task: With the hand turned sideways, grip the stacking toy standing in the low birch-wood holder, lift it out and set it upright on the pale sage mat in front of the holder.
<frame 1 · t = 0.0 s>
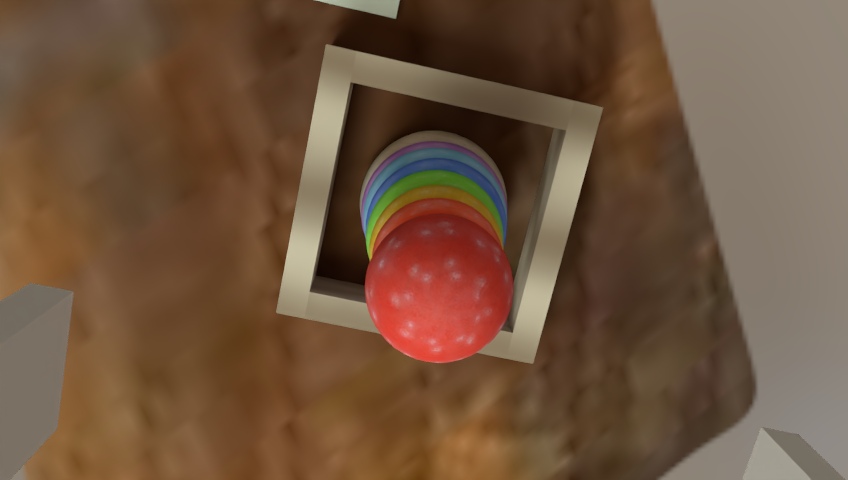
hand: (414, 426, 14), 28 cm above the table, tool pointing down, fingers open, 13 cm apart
stacking toy: (432, 200, 42), resting in birch holder
birch holder: (432, 201, 42), on the table
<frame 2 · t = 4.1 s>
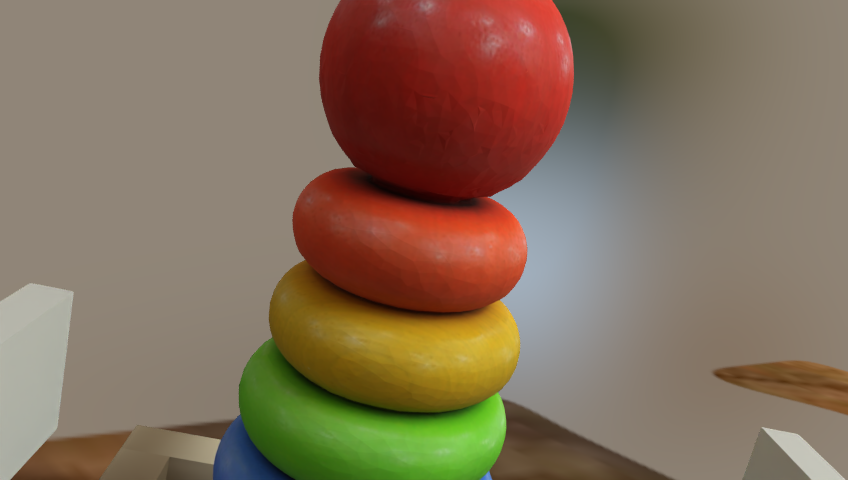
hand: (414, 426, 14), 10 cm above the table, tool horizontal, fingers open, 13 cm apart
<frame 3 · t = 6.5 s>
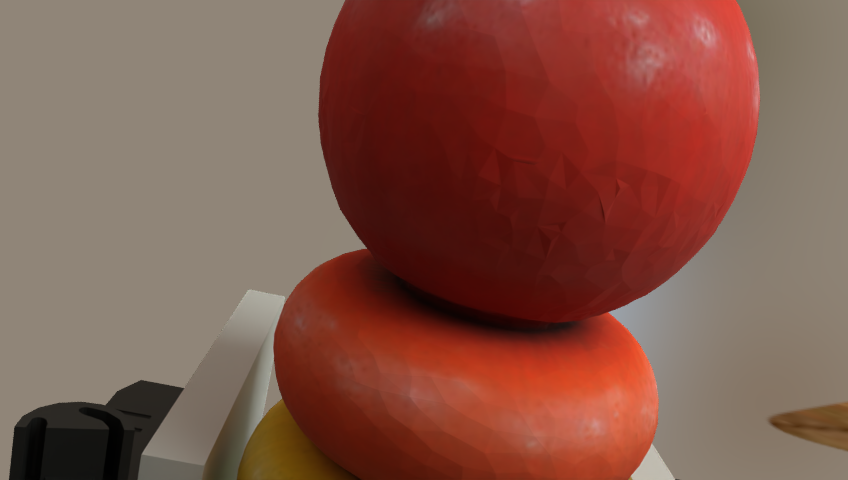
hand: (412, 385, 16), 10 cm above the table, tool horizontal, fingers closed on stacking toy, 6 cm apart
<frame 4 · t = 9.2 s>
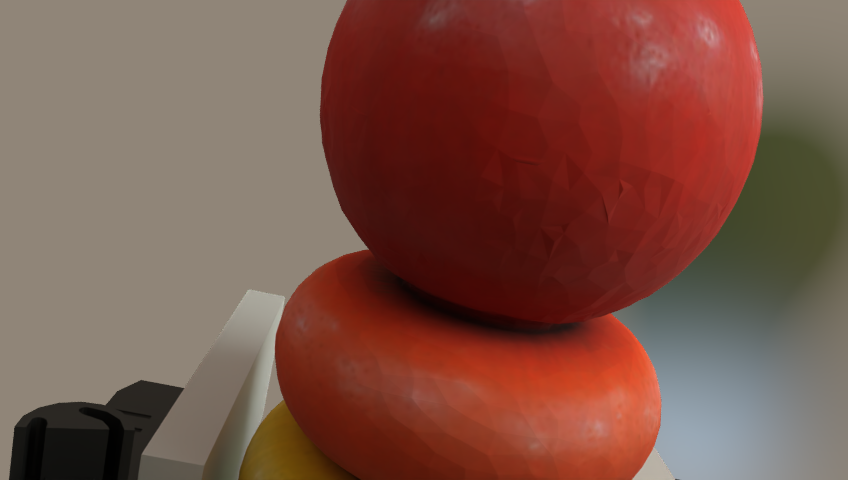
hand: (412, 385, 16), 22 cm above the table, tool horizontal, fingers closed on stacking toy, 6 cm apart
when the fingers open (11 cm above the table, at t = 11.8 s): stacking toy stays where it is, resting on sage mat.
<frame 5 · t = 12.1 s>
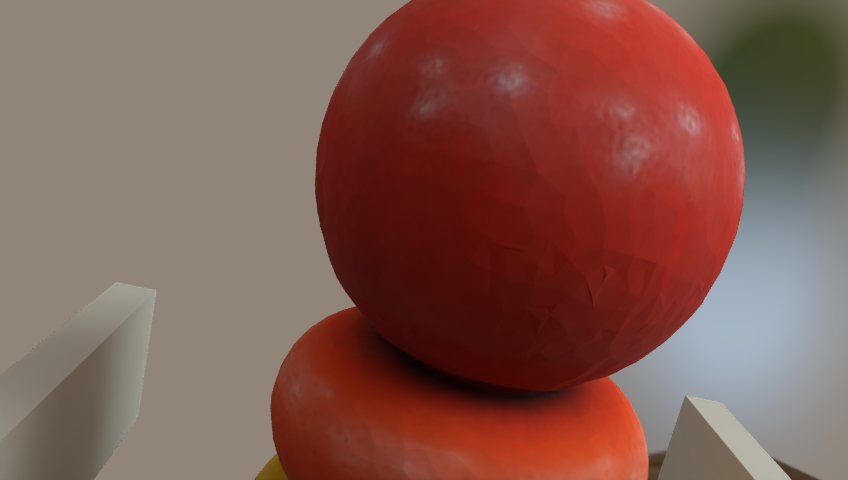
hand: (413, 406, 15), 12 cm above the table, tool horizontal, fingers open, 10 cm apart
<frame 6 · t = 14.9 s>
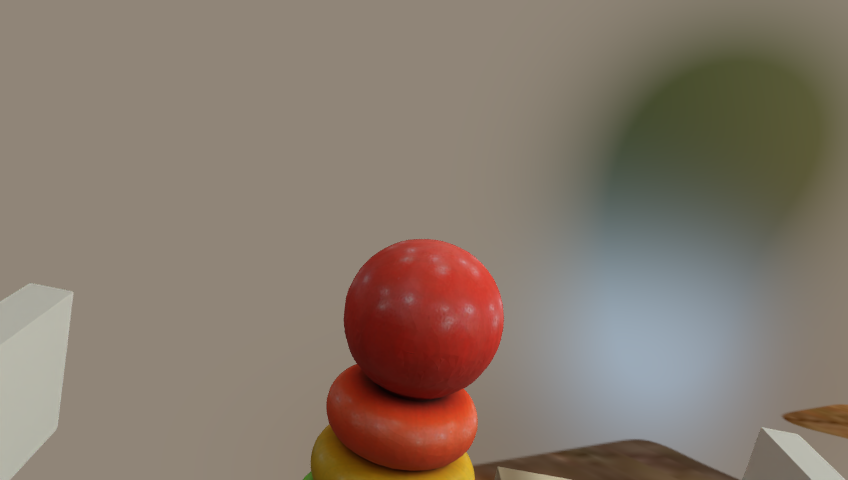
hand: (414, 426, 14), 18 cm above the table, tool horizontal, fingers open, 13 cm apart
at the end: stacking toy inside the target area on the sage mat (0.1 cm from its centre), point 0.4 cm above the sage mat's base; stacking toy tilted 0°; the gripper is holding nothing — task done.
